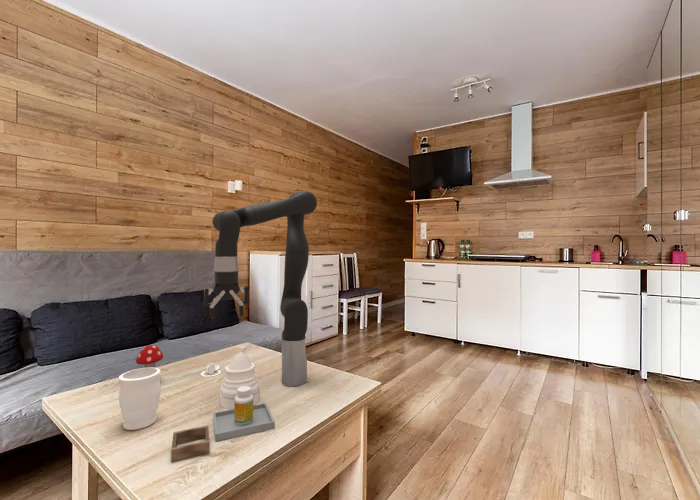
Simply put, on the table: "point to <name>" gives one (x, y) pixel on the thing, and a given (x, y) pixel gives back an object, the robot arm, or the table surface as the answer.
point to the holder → (190, 449)
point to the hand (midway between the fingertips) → (226, 317)
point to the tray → (230, 429)
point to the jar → (139, 397)
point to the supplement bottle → (243, 406)
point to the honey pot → (239, 379)
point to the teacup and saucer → (211, 369)
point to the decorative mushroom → (149, 356)
